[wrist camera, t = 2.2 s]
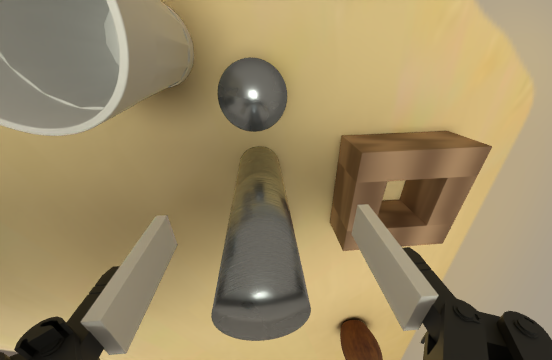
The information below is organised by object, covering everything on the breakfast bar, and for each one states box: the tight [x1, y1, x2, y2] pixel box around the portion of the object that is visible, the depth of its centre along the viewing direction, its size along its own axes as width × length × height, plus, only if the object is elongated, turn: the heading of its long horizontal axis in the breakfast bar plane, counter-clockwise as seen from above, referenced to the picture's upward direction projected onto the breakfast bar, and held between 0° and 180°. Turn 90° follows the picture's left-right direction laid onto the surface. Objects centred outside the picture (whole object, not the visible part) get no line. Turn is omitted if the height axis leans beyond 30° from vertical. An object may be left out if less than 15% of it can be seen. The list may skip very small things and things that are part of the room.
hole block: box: [330, 131, 492, 251], centre depth 23 cm, size 12×12×5 cm
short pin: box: [218, 58, 287, 132], centre depth 16 cm, size 4×4×7 cm
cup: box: [0, 0, 194, 136], centre depth 12 cm, size 8×8×12 cm
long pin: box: [212, 147, 311, 341], centre depth 16 cm, size 4×4×16 cm
